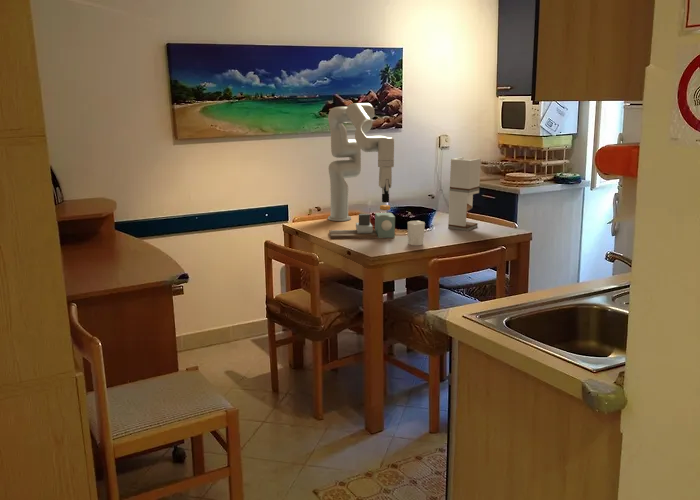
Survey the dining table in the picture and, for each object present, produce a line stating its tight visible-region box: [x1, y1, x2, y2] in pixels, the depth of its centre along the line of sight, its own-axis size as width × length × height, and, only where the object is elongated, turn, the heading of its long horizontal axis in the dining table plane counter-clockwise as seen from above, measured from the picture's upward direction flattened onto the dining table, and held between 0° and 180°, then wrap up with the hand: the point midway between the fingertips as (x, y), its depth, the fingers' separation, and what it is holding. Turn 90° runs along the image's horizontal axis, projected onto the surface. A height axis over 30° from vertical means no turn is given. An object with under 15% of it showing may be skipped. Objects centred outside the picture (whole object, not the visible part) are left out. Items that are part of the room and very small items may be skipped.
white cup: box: [407, 220, 426, 246], centre depth 302 cm, size 8×8×10 cm
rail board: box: [328, 229, 378, 240], centre depth 318 cm, size 12×22×3 cm, turn 96°
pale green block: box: [374, 212, 396, 239], centre depth 319 cm, size 11×8×10 cm
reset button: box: [379, 204, 391, 211], centre depth 317 cm, size 5×5×2 cm
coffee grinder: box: [447, 157, 482, 232], centre depth 334 cm, size 11×11×35 cm
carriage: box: [355, 213, 374, 233], centre depth 318 cm, size 9×7×9 cm
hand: (385, 202), depth 316 cm, fingers closed
